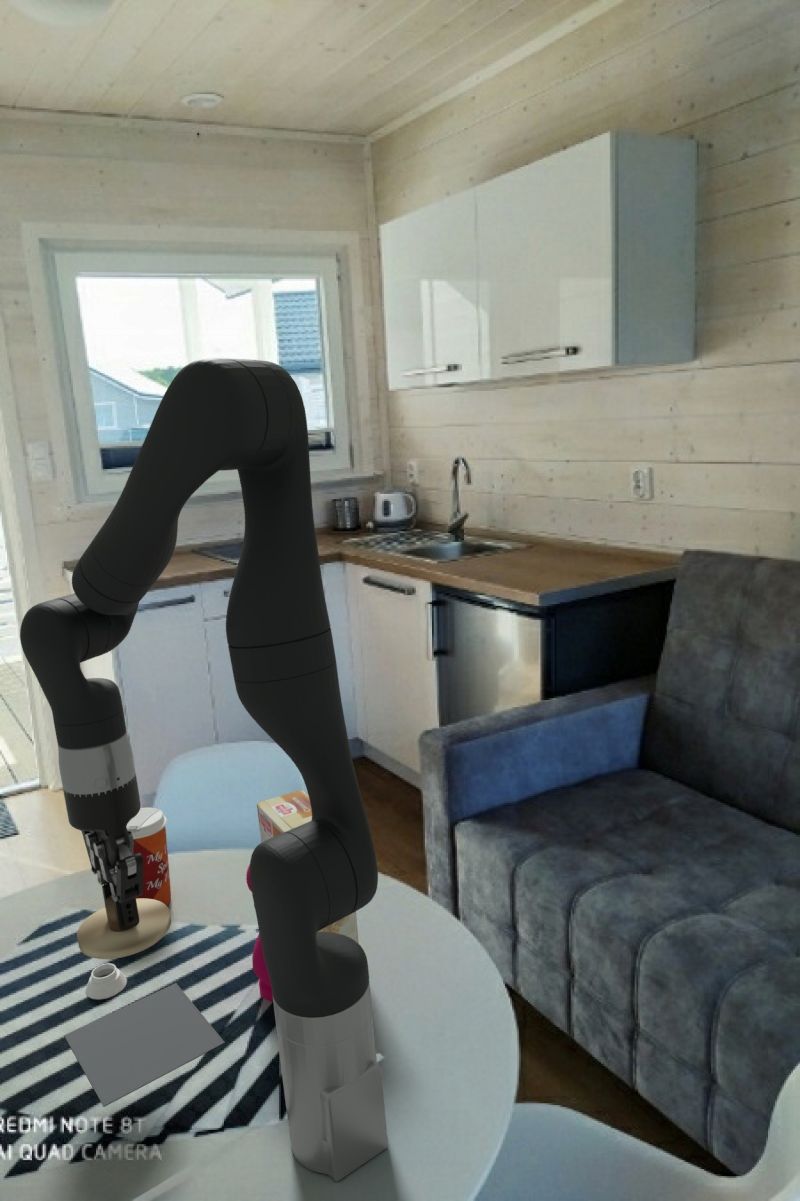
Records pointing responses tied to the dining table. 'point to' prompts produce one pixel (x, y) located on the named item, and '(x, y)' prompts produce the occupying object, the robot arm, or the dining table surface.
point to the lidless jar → (105, 982)
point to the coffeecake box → (289, 815)
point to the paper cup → (152, 853)
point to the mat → (141, 1042)
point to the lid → (111, 942)
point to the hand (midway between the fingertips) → (123, 918)
